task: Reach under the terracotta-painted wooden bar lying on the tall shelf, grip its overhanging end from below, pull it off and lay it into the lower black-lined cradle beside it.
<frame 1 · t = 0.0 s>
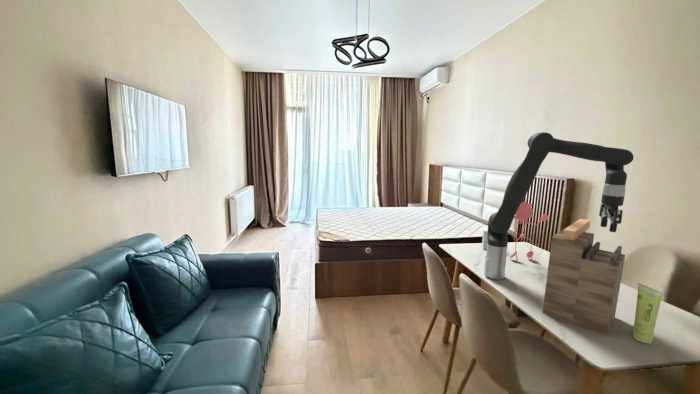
hand: (607, 229, 137), 29 cm above the table, tool pointing down, fingers open, 8 cm apart
bar: (576, 233, 122), point 32 cm above the table, touching shelf
figurine: (518, 258, 180), on the table
supplement box: (488, 248, 198), on the table
tube: (641, 339, 105), on the table
shelf: (578, 314, 120), on the table
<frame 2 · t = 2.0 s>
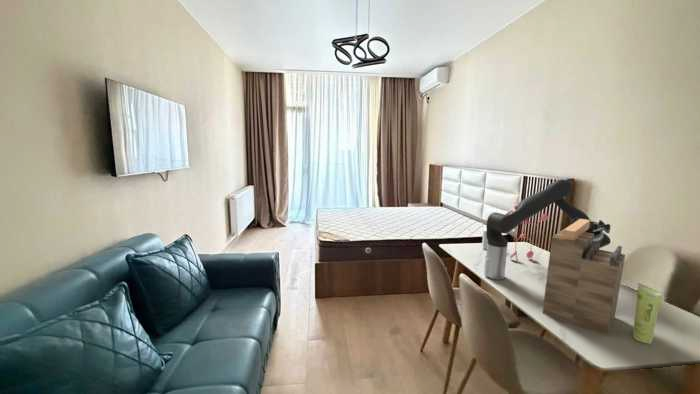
hand: (587, 220, 133), 34 cm above the table, tool pointing upward, fingers open, 8 cm apart
nothing on the table moved.
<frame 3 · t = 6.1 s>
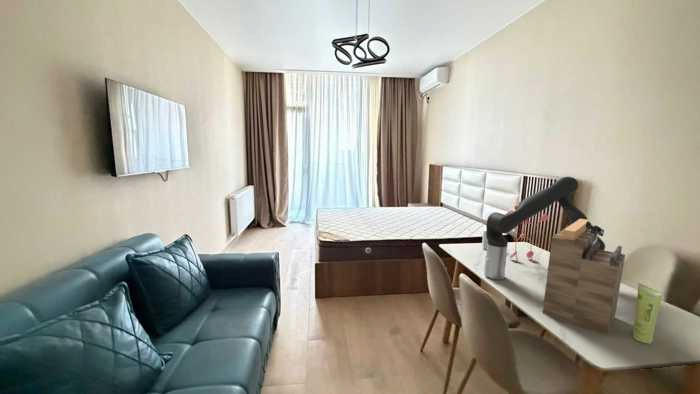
hand: (581, 222, 125), 35 cm above the table, tool pointing upward, fingers closed on bar, 3 cm apart
bar: (576, 233, 122), point 32 cm above the table, touching gripper, shelf
everything else where it was.
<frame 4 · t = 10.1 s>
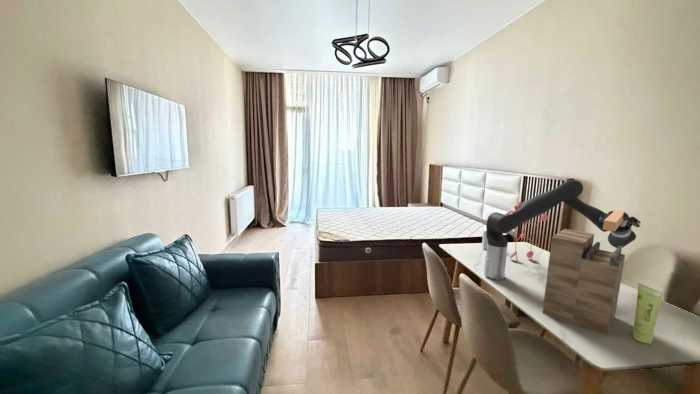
hand: (617, 213, 124), 39 cm above the table, tool pointing upward, fingers closed on bar, 3 cm apart
bar: (614, 224, 120), point 36 cm above the table, touching gripper
everything else where it was.
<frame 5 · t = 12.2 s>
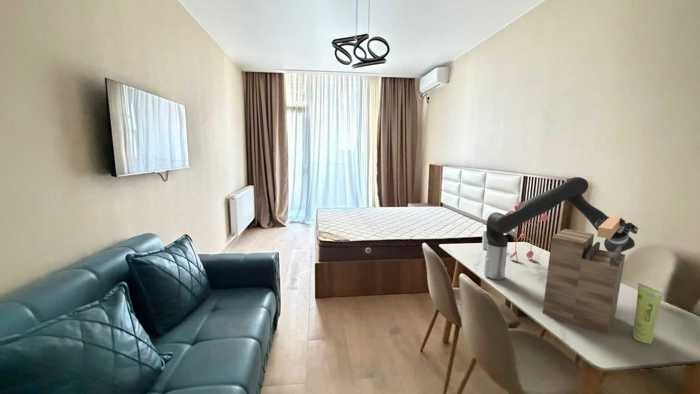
hand: (613, 219, 117), 38 cm above the table, tool pointing upward, fingers closed on bar, 3 cm apart
bar: (609, 230, 114), point 35 cm above the table, touching gripper
everything else where it was.
when the fingers open (31 cm above the table, at t = 14.2 s): bar drops 1 cm, resting on shelf.
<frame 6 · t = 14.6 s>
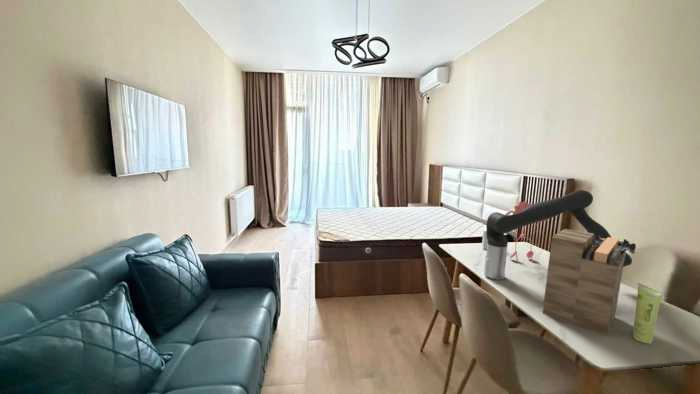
hand: (611, 239, 119), 30 cm above the table, tool pointing upward, fingers open, 7 cm apart
bar: (606, 253, 115), point 26 cm above the table, touching shelf
everything else where it was.
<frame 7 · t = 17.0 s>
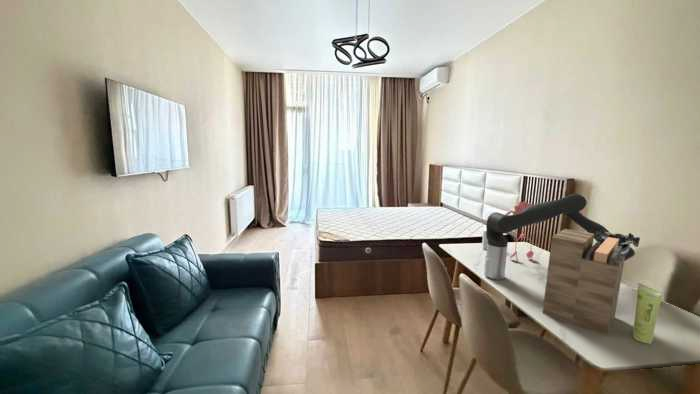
hand: (616, 233, 127), 30 cm above the table, tool pointing upward, fingers open, 8 cm apart
nothing on the table moved.
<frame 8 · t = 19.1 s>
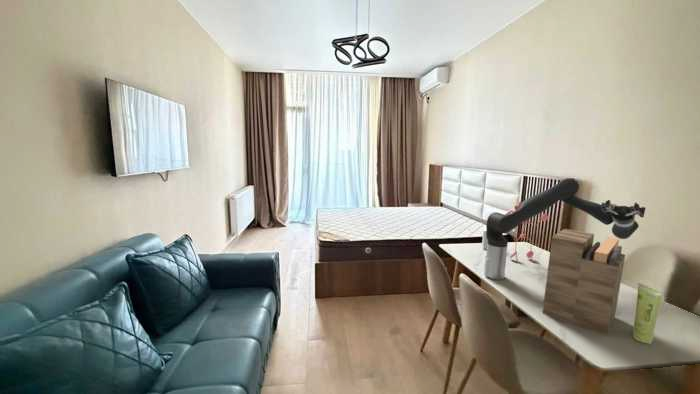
hand: (621, 203, 126), 43 cm above the table, tool pointing upward, fingers open, 8 cm apart
nothing on the table moved.
at the end: bar 0.2 cm from the target spot on the shelf, point 26.0 cm above the shelf's base; bar tilted 0°; the gripper is holding nothing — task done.
